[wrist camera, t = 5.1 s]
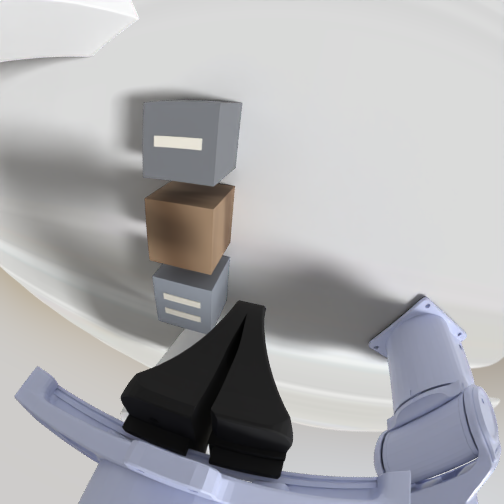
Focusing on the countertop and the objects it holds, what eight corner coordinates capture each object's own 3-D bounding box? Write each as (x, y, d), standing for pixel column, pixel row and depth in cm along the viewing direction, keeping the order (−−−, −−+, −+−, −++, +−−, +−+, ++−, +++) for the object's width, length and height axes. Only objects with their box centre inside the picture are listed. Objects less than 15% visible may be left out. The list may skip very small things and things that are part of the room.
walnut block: (235, 185, 21) (213, 209, 17) (230, 241, 24) (210, 275, 20) (176, 177, 22) (144, 198, 18) (177, 231, 25) (149, 260, 20)
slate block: (230, 256, 25) (211, 291, 20) (227, 299, 27) (210, 336, 23) (176, 245, 25) (150, 276, 21) (178, 287, 28) (156, 320, 24)
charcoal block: (242, 103, 18) (219, 103, 14) (235, 167, 21) (213, 186, 16) (177, 99, 19) (141, 102, 14) (174, 160, 21) (140, 177, 17)
